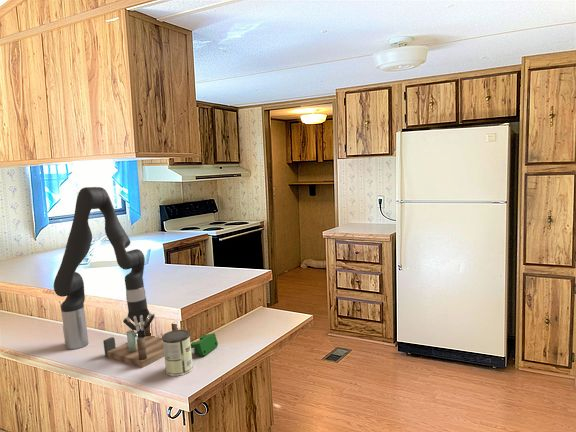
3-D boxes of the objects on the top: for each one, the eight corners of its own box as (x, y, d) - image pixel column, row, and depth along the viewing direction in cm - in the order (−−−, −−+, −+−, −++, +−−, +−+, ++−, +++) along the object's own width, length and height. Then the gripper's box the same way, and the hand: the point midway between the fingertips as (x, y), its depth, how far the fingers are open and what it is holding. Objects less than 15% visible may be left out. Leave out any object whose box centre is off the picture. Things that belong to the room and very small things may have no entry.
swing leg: (132, 339, 197) (130, 321, 196) (140, 338, 198) (138, 320, 197) (127, 352, 183) (125, 333, 182) (136, 351, 184) (133, 332, 183)
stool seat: (105, 356, 188) (102, 332, 186) (147, 337, 206) (144, 315, 205) (142, 367, 175) (140, 341, 173) (184, 346, 193) (181, 322, 192)
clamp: (207, 356, 191) (206, 335, 194) (218, 355, 189) (217, 333, 192) (188, 357, 181) (187, 334, 184) (200, 355, 178) (199, 332, 182)
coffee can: (169, 364, 176) (165, 330, 174) (195, 362, 176) (192, 328, 174) (162, 377, 165) (158, 341, 164) (190, 375, 166) (187, 338, 164)
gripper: (154, 293, 188) (159, 332, 191) (121, 298, 186) (126, 337, 188) (152, 298, 181) (157, 339, 183) (118, 303, 179) (123, 344, 181)
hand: (141, 338), depth 186 cm, fingers closed
